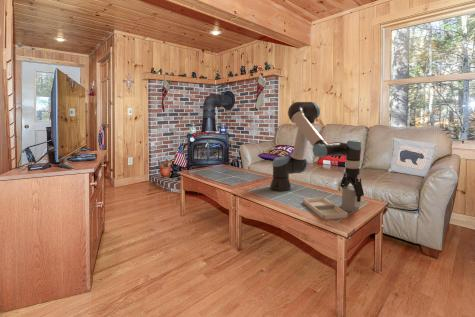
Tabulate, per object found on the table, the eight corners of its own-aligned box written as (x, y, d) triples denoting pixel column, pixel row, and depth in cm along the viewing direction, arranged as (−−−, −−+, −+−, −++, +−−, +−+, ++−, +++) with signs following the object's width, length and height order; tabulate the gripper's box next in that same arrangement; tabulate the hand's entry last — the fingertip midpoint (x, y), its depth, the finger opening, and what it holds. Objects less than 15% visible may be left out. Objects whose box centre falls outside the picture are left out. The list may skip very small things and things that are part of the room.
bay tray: (303, 202, 168) (303, 198, 168) (324, 201, 170) (324, 197, 170) (323, 219, 141) (323, 214, 141) (348, 217, 143) (348, 213, 143)
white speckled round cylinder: (343, 204, 164) (344, 185, 162) (360, 207, 158) (361, 187, 156) (339, 209, 156) (340, 188, 154) (357, 212, 151) (358, 191, 149)
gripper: (372, 171, 141) (369, 209, 145) (346, 163, 166) (344, 196, 169) (359, 172, 140) (357, 210, 144) (335, 163, 165) (333, 196, 168)
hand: (350, 202), depth 157 cm, fingers open, 13 cm apart
